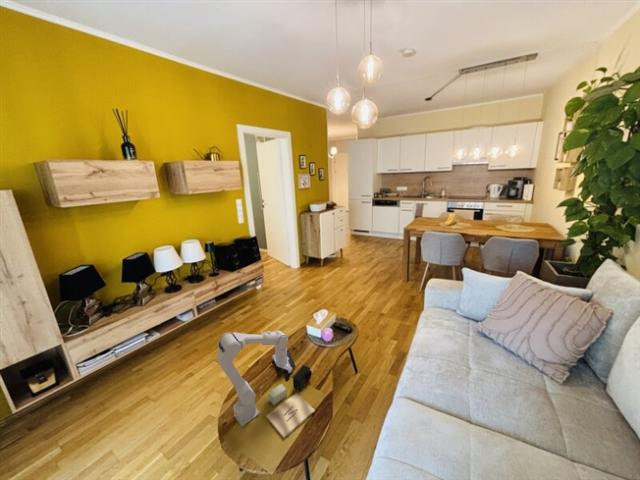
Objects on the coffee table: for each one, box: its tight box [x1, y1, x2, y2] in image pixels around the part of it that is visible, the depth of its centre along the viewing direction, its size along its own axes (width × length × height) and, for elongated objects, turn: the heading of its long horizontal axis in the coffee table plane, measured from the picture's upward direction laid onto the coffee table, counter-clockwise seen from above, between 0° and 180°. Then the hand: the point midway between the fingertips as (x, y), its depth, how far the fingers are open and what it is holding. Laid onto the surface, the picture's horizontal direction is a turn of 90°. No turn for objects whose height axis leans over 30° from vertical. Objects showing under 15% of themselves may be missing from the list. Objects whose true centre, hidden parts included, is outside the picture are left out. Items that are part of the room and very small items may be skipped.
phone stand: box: [280, 348, 297, 375], centre depth 149 cm, size 9×6×12 cm, turn 74°
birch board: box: [265, 392, 316, 439], centre depth 122 cm, size 18×14×1 cm
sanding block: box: [267, 383, 288, 407], centre depth 131 cm, size 8×4×5 cm, turn 133°
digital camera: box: [292, 365, 313, 392], centre depth 139 cm, size 10×5×7 cm, turn 151°
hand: (283, 376), depth 133 cm, fingers open, 7 cm apart
